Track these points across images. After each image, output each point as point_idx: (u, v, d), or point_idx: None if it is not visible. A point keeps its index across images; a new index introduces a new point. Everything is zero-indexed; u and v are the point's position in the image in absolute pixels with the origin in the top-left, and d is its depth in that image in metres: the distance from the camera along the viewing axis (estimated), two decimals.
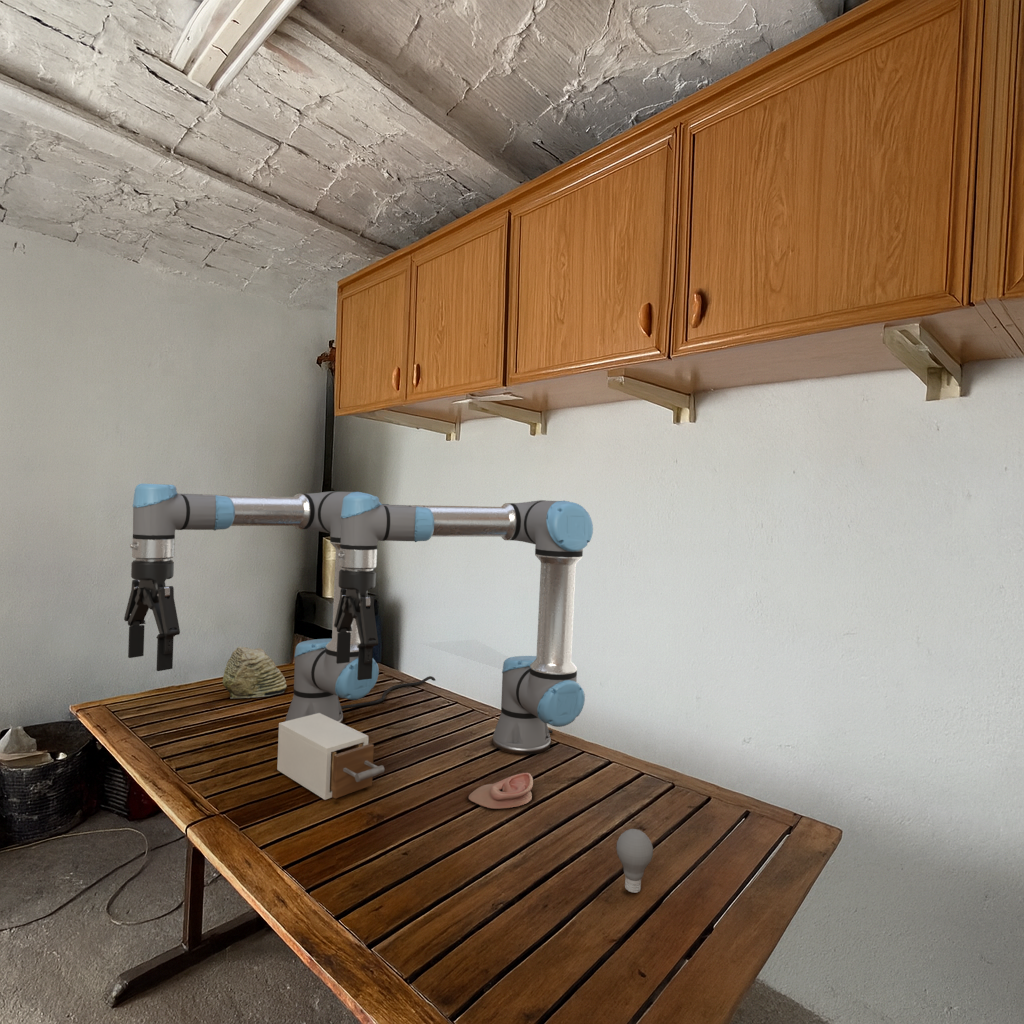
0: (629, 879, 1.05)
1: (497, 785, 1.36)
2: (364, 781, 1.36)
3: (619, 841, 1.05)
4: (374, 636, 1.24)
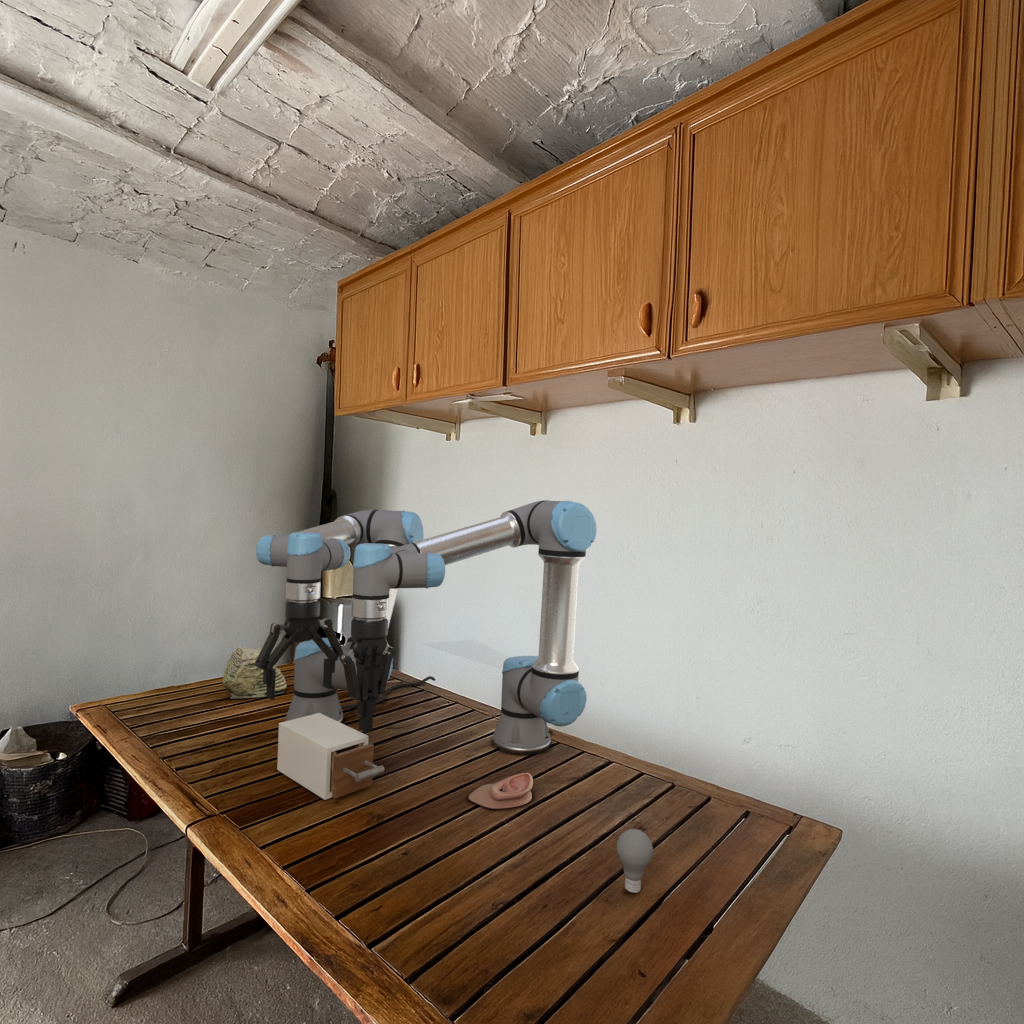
0: (629, 879, 1.05)
1: (497, 785, 1.36)
2: (364, 781, 1.36)
3: (619, 841, 1.05)
4: None
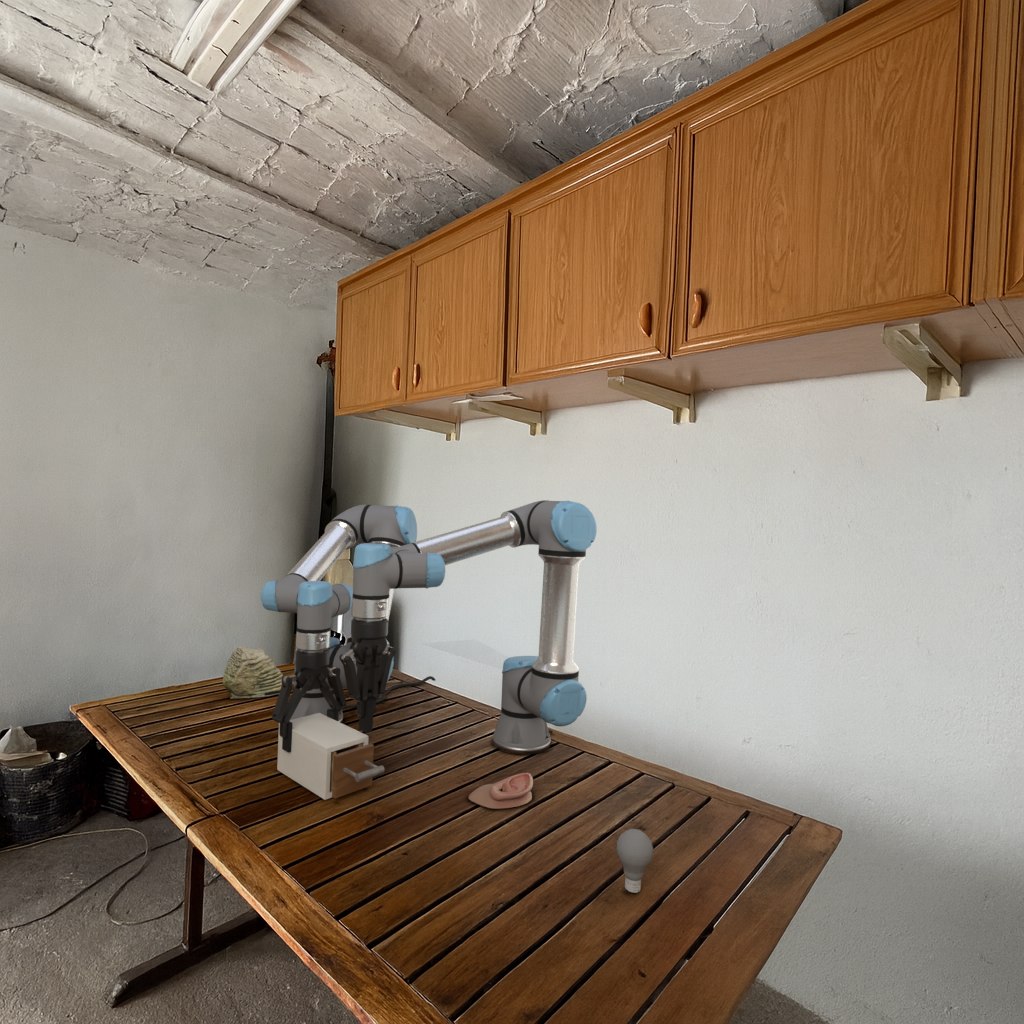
0: (629, 879, 1.05)
1: (497, 785, 1.36)
2: (364, 781, 1.36)
3: (619, 841, 1.05)
4: None
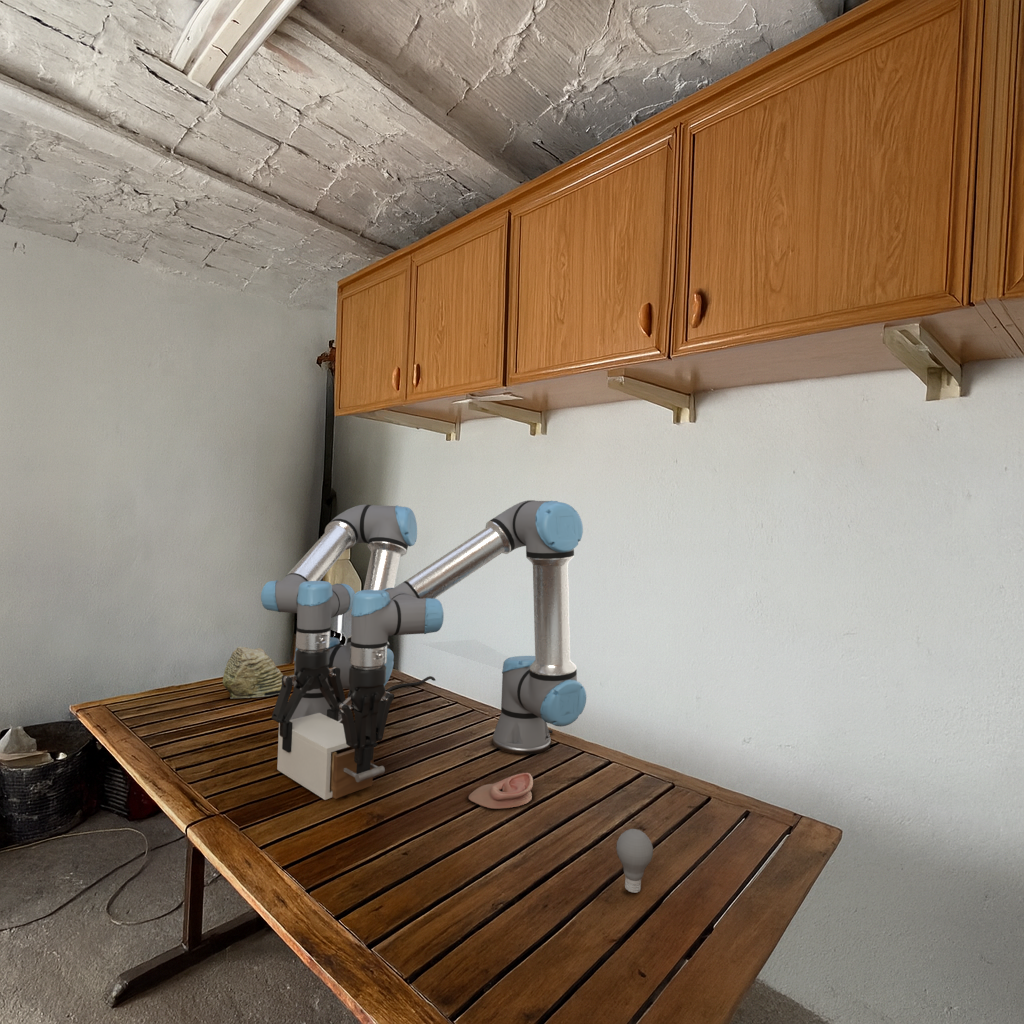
0: (629, 879, 1.05)
1: (497, 785, 1.36)
2: (364, 781, 1.36)
3: (619, 841, 1.05)
4: None
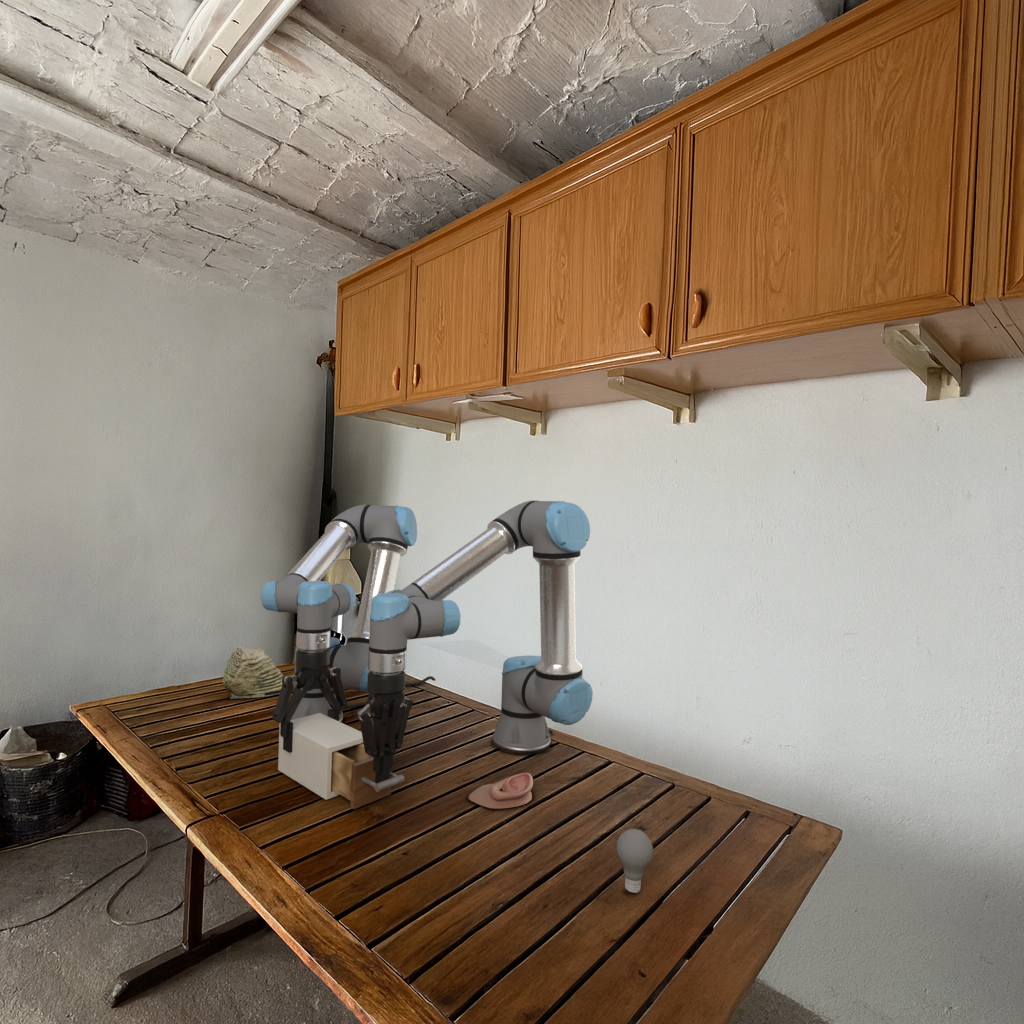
0: (629, 879, 1.05)
1: (497, 785, 1.36)
2: (383, 790, 1.32)
3: (619, 841, 1.05)
4: None
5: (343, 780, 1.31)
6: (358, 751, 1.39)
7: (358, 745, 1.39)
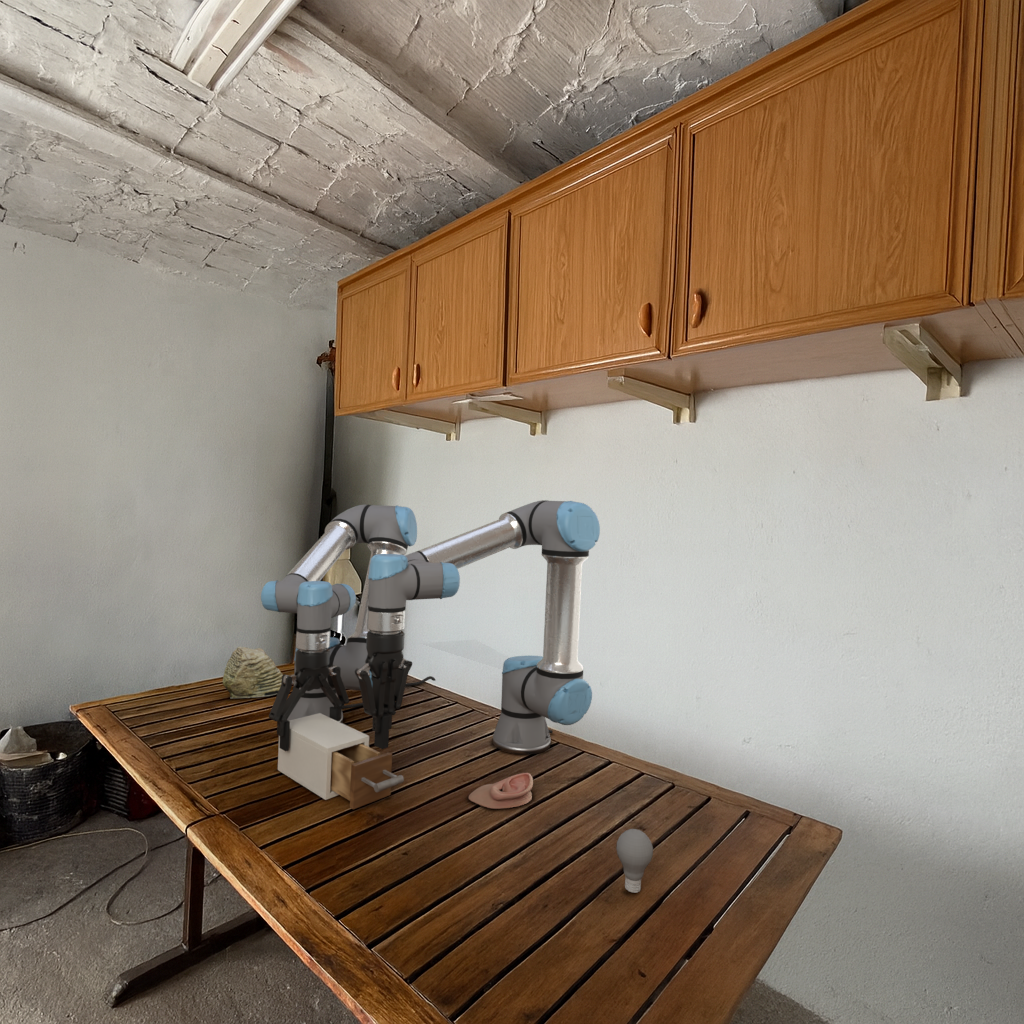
0: (629, 879, 1.05)
1: (497, 785, 1.36)
2: (382, 791, 1.32)
3: (619, 841, 1.05)
4: None
5: (343, 780, 1.31)
6: (358, 751, 1.39)
7: (358, 745, 1.39)
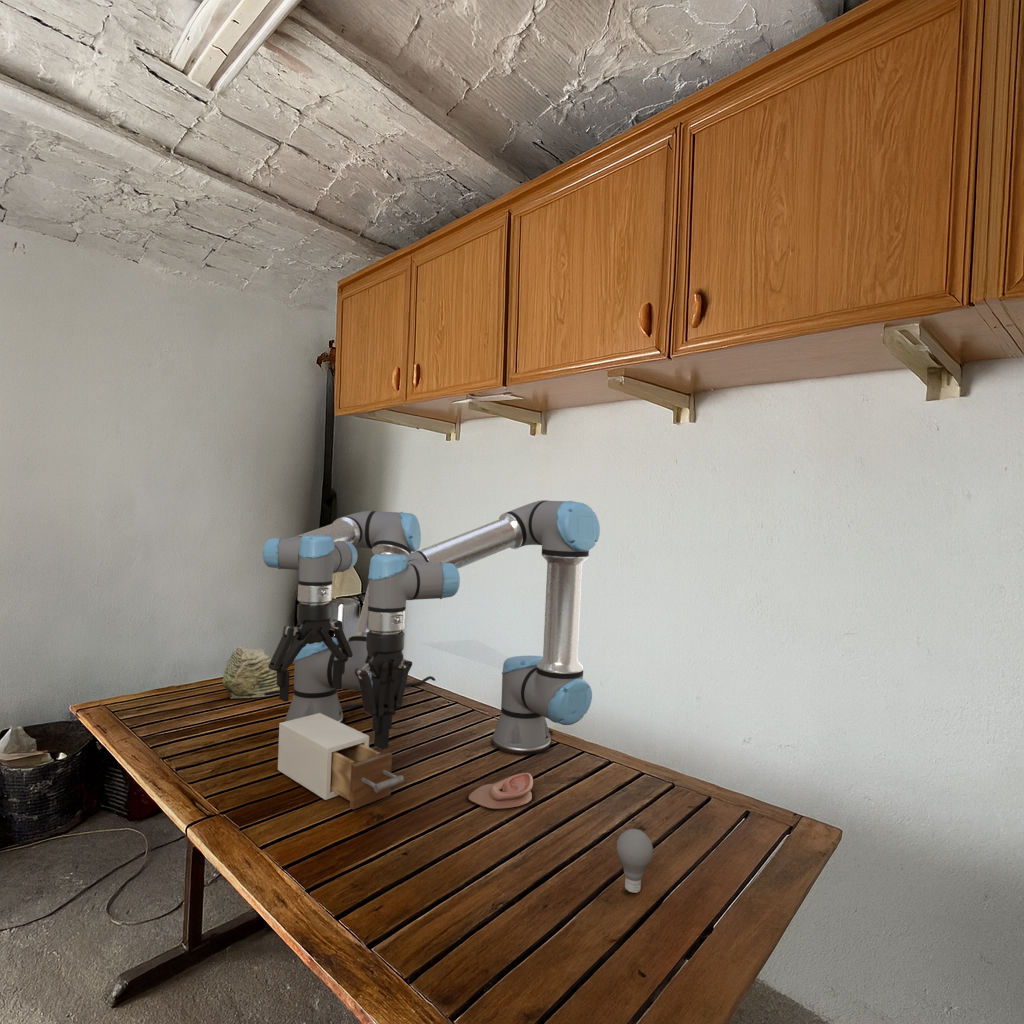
0: (629, 879, 1.05)
1: (497, 785, 1.36)
2: (382, 791, 1.32)
3: (619, 841, 1.05)
4: None
5: (343, 780, 1.31)
6: (358, 751, 1.39)
7: (358, 745, 1.39)
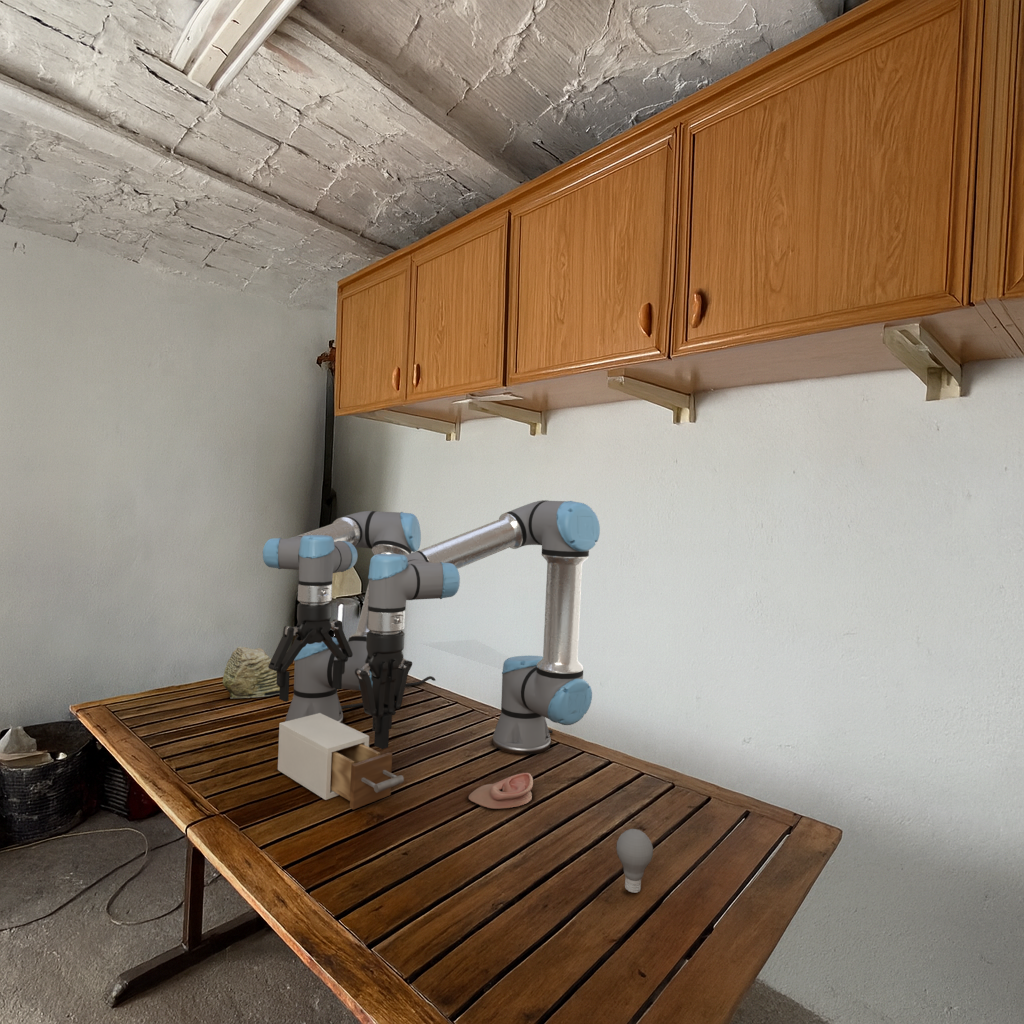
0: (629, 879, 1.05)
1: (497, 785, 1.36)
2: (382, 791, 1.32)
3: (619, 841, 1.05)
4: None
5: (343, 780, 1.31)
6: (358, 751, 1.39)
7: (358, 745, 1.39)
